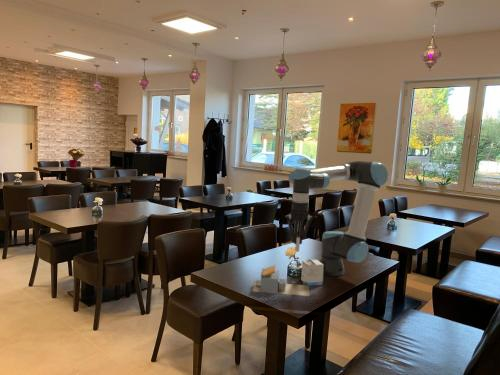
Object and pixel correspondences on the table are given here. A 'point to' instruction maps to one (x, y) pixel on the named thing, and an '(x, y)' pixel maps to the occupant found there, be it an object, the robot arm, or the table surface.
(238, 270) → the table surface
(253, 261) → the table surface
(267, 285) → the hitch block
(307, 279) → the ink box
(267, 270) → the keeper tab
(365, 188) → the robot arm
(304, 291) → the birch board
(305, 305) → the table surface
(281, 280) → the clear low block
